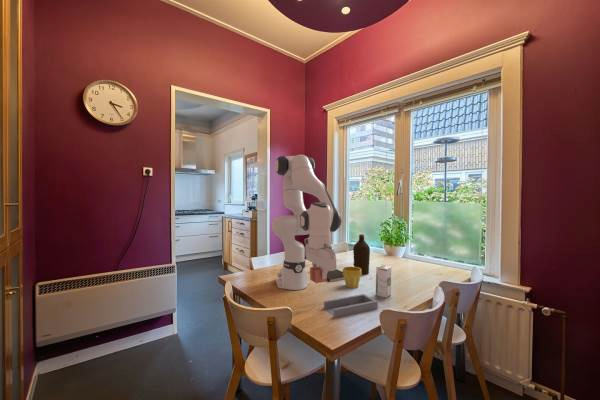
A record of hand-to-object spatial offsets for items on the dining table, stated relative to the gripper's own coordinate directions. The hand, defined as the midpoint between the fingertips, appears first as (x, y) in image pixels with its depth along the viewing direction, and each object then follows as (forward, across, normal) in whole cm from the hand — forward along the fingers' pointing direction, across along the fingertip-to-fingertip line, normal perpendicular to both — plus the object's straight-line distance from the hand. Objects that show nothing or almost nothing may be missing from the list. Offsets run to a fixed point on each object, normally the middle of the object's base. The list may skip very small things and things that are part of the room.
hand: (319, 276), depth 102 cm
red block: (-1, 0, -2) cm, 2 cm away
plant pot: (+17, +25, -34) cm, 45 cm away
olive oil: (+17, +44, -54) cm, 72 cm away
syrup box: (+17, +8, -40) cm, 45 cm away
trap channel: (+17, 0, -15) cm, 23 cm away
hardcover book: (+18, +48, -33) cm, 61 cm away
